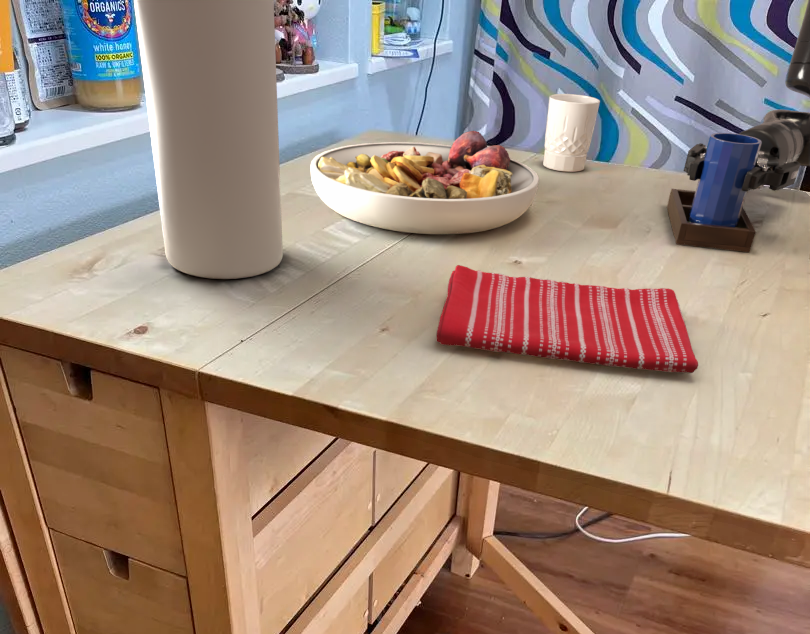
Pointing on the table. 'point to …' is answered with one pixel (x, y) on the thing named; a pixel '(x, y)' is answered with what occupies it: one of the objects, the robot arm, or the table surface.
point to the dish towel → (566, 321)
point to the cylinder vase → (214, 132)
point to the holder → (707, 227)
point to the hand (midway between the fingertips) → (720, 176)
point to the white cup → (569, 131)
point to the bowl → (425, 185)
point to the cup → (724, 179)
